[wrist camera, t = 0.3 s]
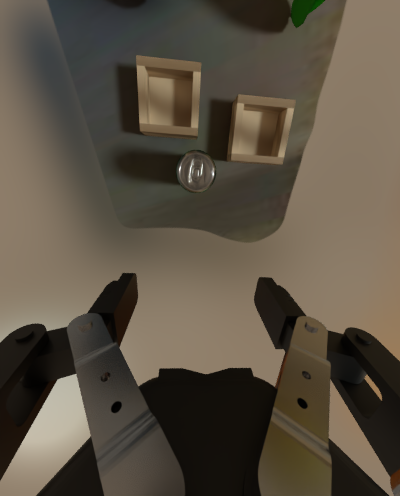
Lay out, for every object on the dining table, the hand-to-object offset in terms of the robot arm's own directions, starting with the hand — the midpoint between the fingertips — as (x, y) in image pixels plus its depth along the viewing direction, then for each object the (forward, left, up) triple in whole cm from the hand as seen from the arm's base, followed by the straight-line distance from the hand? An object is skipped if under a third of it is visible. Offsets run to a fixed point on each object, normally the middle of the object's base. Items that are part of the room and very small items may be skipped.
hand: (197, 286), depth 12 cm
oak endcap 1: (-16, -4, -26) cm, 31 cm away
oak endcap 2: (-13, +10, -26) cm, 31 cm away
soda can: (-7, 0, -26) cm, 27 cm away
